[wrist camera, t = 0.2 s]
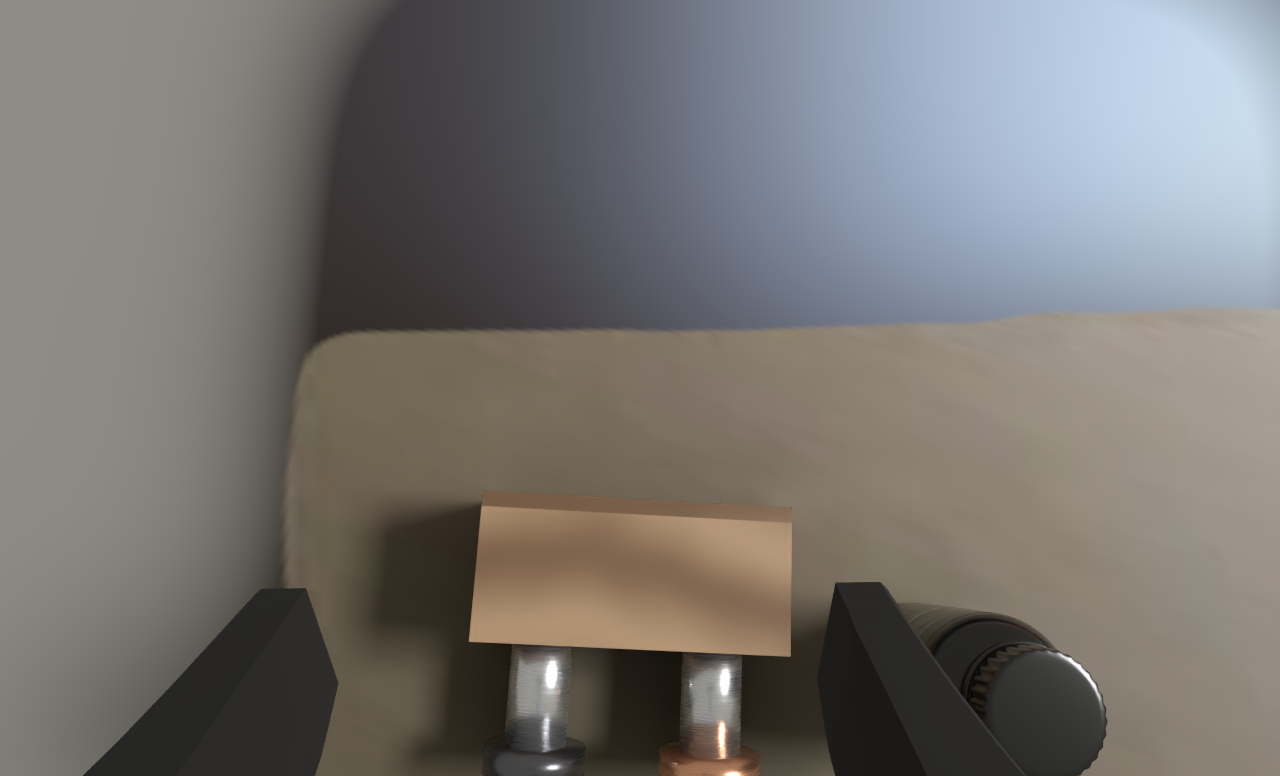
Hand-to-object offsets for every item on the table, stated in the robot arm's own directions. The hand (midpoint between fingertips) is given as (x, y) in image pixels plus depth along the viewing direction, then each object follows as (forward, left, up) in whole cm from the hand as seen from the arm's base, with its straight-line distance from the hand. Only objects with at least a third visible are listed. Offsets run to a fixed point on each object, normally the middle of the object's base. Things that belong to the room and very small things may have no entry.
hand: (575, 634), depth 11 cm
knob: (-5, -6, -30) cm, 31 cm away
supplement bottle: (-3, -17, -31) cm, 36 cm away
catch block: (+1, -2, -31) cm, 31 cm away
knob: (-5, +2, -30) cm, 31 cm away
